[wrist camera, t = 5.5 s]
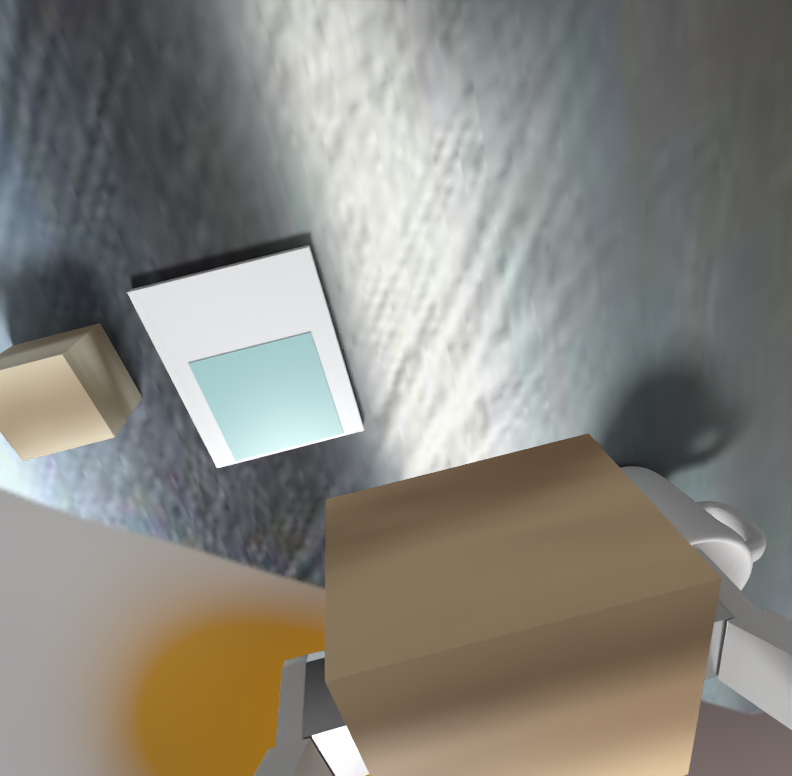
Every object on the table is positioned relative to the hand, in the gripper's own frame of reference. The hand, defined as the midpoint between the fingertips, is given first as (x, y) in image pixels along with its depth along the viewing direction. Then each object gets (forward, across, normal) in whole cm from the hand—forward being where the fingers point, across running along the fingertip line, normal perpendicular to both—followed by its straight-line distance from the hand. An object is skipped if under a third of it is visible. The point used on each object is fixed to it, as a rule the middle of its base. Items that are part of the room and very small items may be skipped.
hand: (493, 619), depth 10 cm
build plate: (+18, +7, 0) cm, 19 cm away
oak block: (+2, 0, 0) cm, 2 cm away
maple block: (+18, +16, -2) cm, 24 cm away
